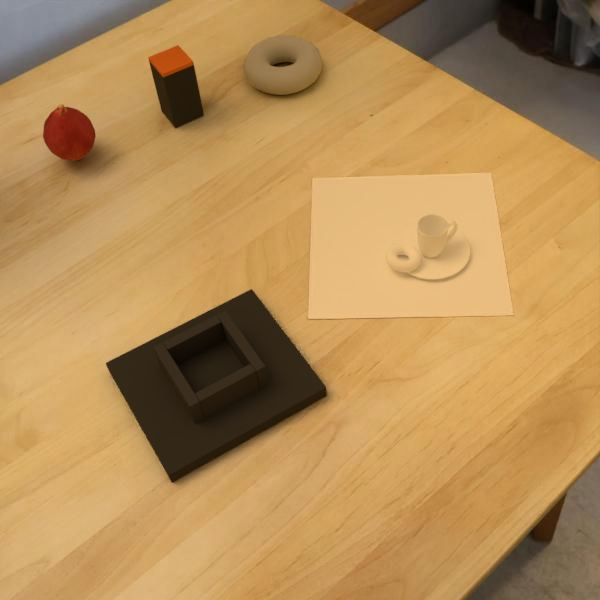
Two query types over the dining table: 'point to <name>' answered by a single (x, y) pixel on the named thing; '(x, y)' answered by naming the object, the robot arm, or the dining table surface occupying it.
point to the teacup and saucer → (406, 247)
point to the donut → (283, 77)
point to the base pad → (214, 383)
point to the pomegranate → (68, 133)
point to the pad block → (176, 86)
